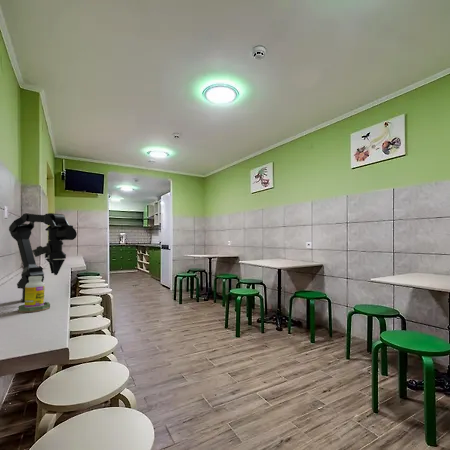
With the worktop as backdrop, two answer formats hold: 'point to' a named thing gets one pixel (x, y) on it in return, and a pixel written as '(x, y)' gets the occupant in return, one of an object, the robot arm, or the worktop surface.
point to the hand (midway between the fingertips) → (54, 274)
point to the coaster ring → (34, 308)
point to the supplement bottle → (34, 292)
